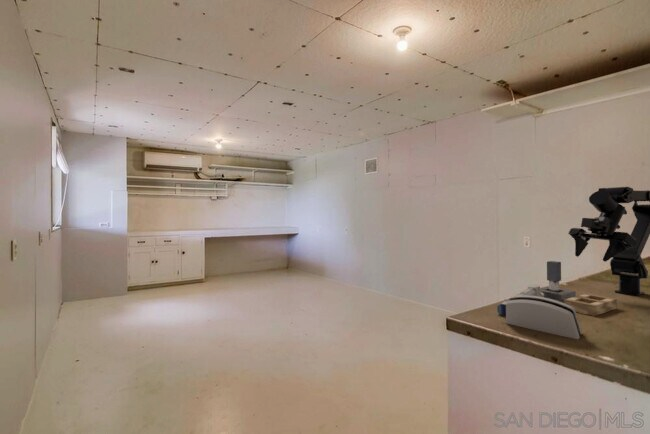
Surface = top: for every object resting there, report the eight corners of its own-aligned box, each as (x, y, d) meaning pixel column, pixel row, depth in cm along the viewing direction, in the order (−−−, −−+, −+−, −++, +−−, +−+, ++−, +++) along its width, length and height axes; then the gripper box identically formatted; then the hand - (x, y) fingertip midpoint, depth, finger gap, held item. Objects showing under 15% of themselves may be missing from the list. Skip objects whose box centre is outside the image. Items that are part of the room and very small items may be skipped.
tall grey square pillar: (552, 297, 118) (551, 260, 117) (561, 299, 115) (560, 261, 115) (547, 298, 116) (546, 261, 116) (556, 300, 113) (556, 262, 113)
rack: (586, 302, 110) (586, 293, 110) (616, 308, 103) (616, 298, 103) (564, 309, 104) (564, 299, 104) (594, 316, 97) (594, 305, 97)
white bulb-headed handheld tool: (493, 301, 101) (528, 279, 116) (495, 322, 102) (530, 297, 116) (511, 305, 97) (545, 281, 111) (513, 327, 97) (547, 300, 112)
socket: (547, 294, 122) (547, 286, 122) (575, 299, 114) (575, 291, 114) (533, 297, 117) (533, 289, 117) (561, 303, 109) (561, 294, 109)
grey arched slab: (583, 334, 83) (580, 299, 81) (579, 345, 80) (575, 310, 78) (511, 318, 96) (506, 288, 94) (505, 328, 93) (500, 297, 91)
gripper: (568, 206, 122) (549, 243, 121) (625, 208, 104) (604, 251, 103) (587, 221, 125) (569, 257, 124) (646, 225, 107) (625, 268, 106)
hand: (589, 258), depth 114 cm, fingers open, 9 cm apart
